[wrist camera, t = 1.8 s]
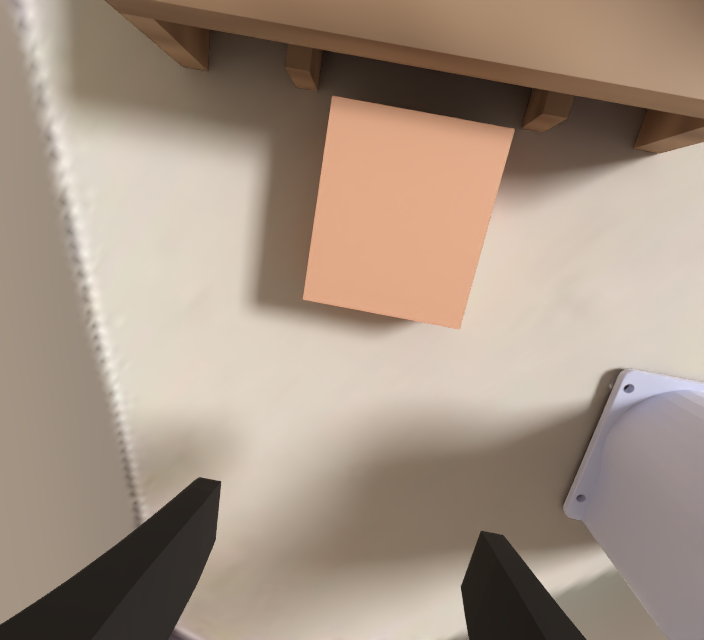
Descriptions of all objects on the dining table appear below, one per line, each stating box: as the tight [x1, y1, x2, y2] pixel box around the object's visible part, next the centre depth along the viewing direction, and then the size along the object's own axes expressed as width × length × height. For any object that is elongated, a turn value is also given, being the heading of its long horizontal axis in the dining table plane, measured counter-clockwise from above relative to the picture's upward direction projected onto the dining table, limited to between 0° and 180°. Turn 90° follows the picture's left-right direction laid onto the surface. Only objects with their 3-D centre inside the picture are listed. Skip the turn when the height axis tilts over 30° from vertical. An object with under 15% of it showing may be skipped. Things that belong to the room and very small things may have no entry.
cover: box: [303, 96, 515, 329], centre depth 15 cm, size 8×7×3 cm
